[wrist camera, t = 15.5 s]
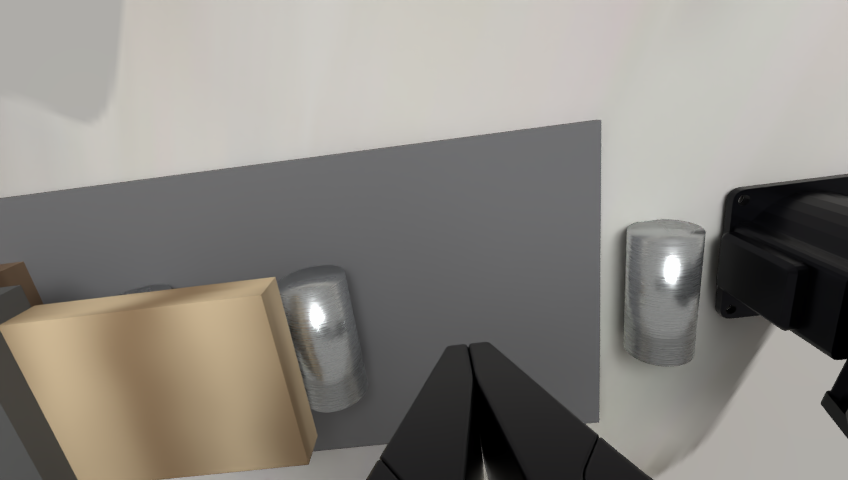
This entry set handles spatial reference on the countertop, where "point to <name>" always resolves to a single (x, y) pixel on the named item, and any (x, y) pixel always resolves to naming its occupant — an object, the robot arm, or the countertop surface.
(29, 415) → the walnut stop
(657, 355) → the cylinder
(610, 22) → the countertop surface
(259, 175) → the rubber mat
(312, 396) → the cylinder
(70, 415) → the oak slab
